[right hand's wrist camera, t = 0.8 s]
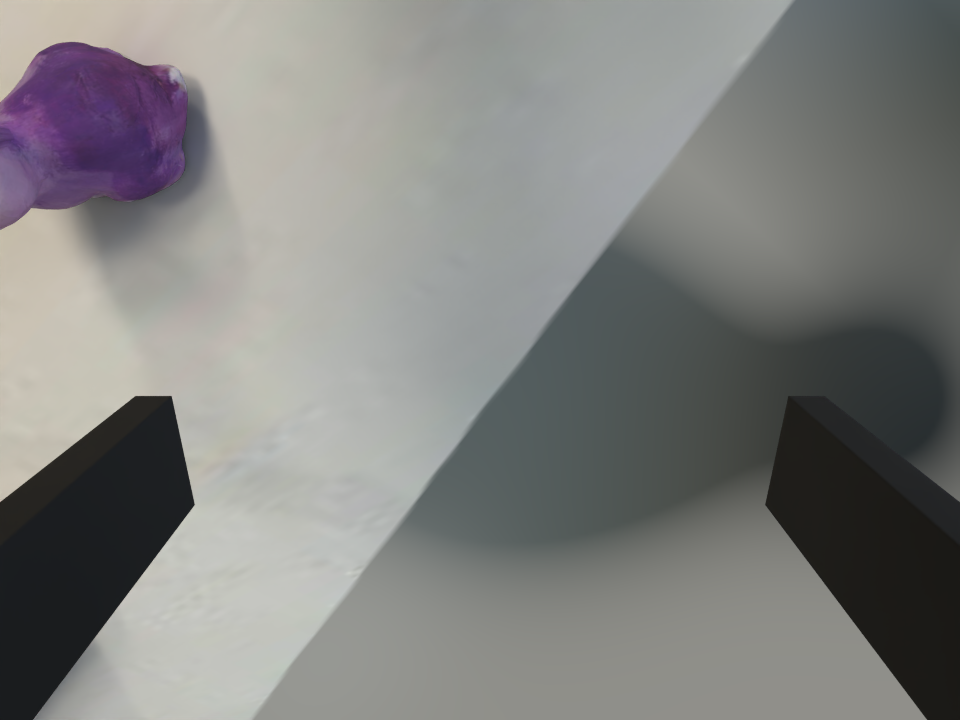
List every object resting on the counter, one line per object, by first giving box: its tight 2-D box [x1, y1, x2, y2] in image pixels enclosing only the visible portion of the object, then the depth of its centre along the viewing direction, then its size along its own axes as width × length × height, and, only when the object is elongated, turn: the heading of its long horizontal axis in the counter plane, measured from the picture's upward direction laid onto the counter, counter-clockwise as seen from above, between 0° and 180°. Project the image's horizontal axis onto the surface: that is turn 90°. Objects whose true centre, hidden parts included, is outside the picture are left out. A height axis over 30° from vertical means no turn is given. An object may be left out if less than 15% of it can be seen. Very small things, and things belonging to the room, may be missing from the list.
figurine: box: [0, 42, 188, 230], centre depth 29 cm, size 9×10×15 cm
